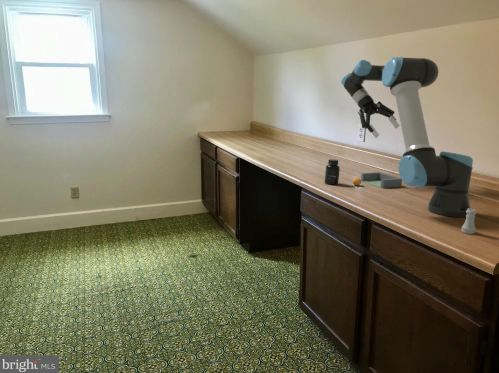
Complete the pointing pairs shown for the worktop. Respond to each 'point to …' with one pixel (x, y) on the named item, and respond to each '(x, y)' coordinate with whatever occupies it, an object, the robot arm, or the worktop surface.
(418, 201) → the worktop surface
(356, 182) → the ball
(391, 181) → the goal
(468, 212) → the rook chess piece
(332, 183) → the supplement bottle
